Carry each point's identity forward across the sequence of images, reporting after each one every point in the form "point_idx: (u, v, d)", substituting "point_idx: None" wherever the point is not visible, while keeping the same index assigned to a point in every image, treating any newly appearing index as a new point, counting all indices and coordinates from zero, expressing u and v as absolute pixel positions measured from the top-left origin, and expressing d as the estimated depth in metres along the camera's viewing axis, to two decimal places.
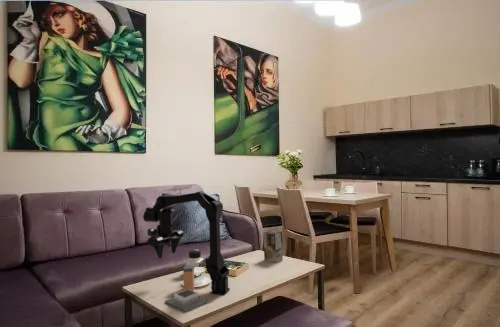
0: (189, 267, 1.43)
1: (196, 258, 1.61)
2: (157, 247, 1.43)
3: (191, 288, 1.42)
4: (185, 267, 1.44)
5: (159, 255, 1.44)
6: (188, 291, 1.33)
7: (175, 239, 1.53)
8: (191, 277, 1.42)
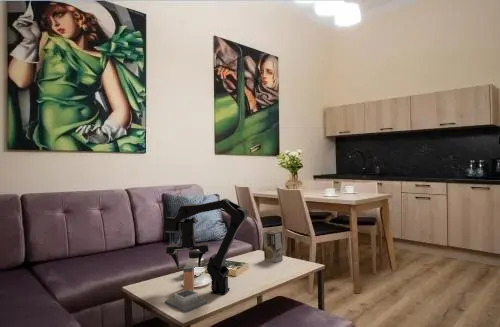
0: (189, 267, 1.43)
1: (196, 258, 1.61)
2: None
3: (191, 288, 1.42)
4: (185, 267, 1.44)
5: None
6: (188, 291, 1.33)
7: (199, 253, 1.43)
8: (191, 277, 1.42)
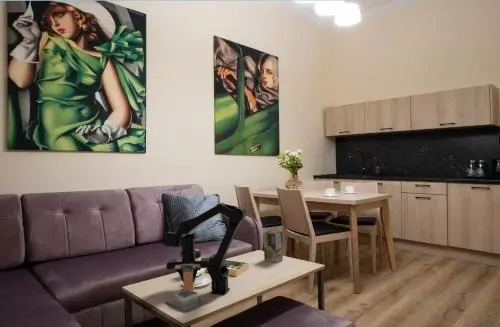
0: (189, 267, 1.43)
1: (196, 258, 1.61)
2: None
3: (191, 288, 1.42)
4: (185, 267, 1.44)
5: None
6: (188, 291, 1.33)
7: (194, 268, 1.43)
8: (191, 277, 1.42)
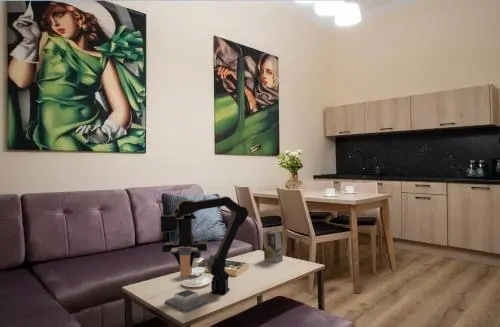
0: (186, 250, 1.34)
1: (196, 258, 1.61)
2: None
3: (188, 273, 1.33)
4: (182, 250, 1.34)
5: None
6: (188, 291, 1.33)
7: (191, 252, 1.33)
8: (188, 261, 1.33)
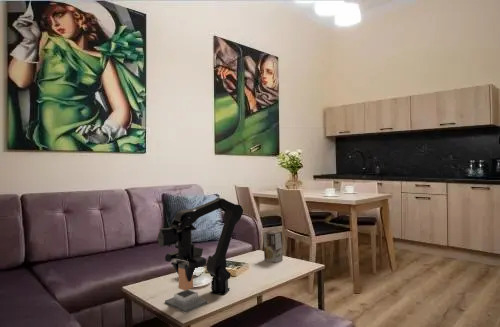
0: (184, 263, 1.29)
1: None
2: None
3: (184, 287, 1.27)
4: (182, 262, 1.30)
5: None
6: (188, 291, 1.33)
7: None
8: (184, 275, 1.27)
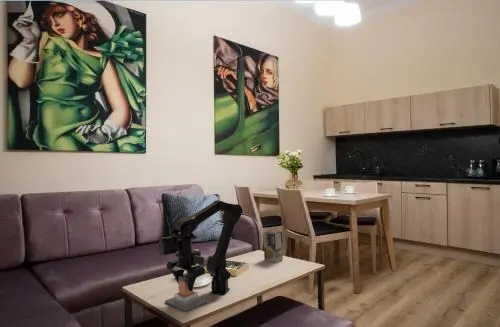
0: None
1: None
2: None
3: None
4: (183, 275, 1.31)
5: None
6: None
7: None
8: (184, 288, 1.27)
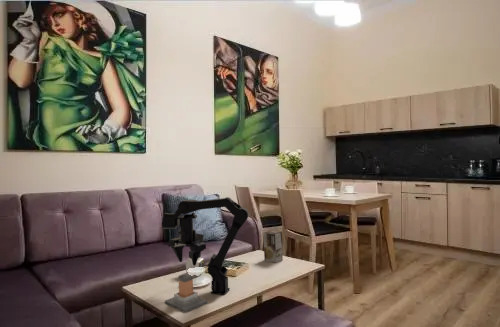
0: (185, 276, 1.29)
1: None
2: None
3: None
4: (183, 275, 1.31)
5: None
6: None
7: None
8: (184, 288, 1.27)
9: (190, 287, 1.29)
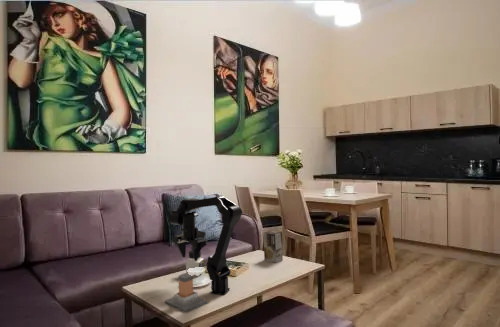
0: (185, 276, 1.29)
1: None
2: None
3: None
4: (183, 275, 1.31)
5: None
6: None
7: None
8: (184, 288, 1.27)
9: (190, 287, 1.29)
